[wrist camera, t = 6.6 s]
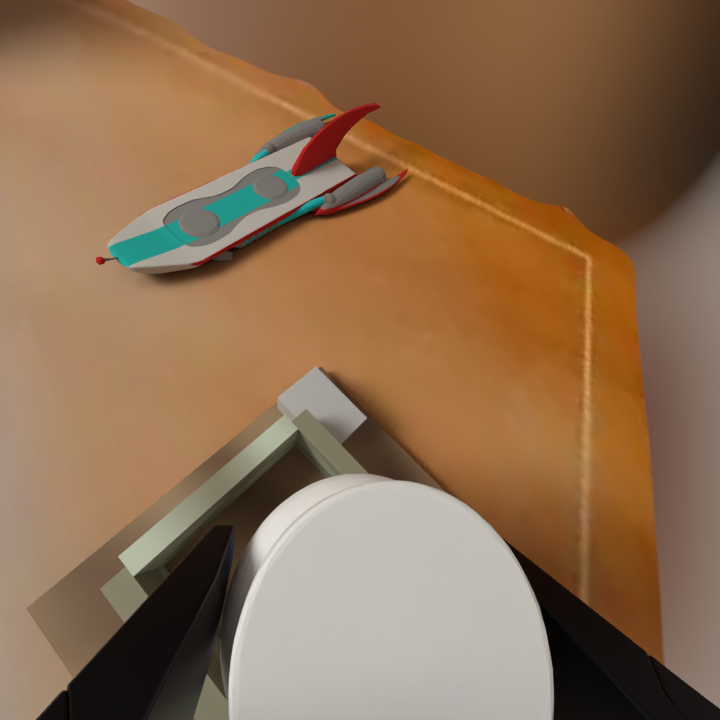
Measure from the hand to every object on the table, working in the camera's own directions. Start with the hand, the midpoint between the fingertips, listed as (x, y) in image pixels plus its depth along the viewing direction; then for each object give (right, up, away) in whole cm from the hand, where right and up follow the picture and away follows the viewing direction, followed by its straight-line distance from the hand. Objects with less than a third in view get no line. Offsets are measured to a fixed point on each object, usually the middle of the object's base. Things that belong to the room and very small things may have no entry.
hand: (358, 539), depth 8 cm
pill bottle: (-1, -4, +6) cm, 7 cm away
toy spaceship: (-8, +18, +22) cm, 30 cm away
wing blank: (-3, +1, +14) cm, 14 cm away
